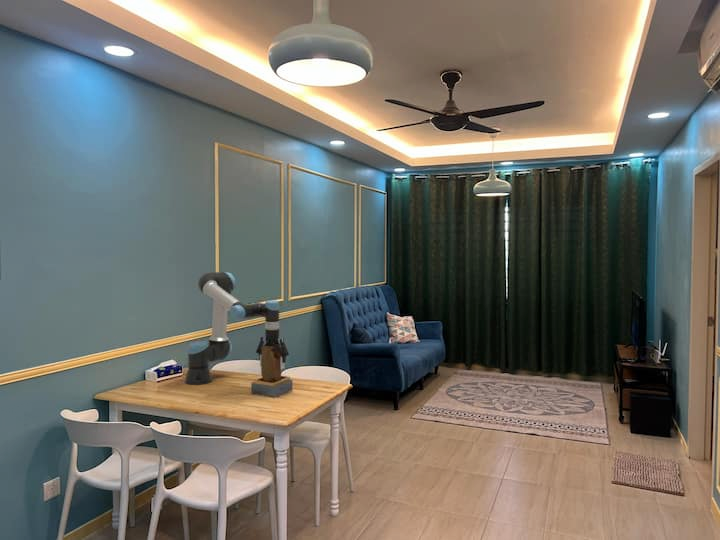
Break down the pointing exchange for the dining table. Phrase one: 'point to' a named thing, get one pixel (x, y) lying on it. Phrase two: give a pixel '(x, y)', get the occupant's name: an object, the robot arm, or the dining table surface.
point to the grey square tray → (271, 387)
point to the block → (270, 364)
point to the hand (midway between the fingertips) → (272, 367)
